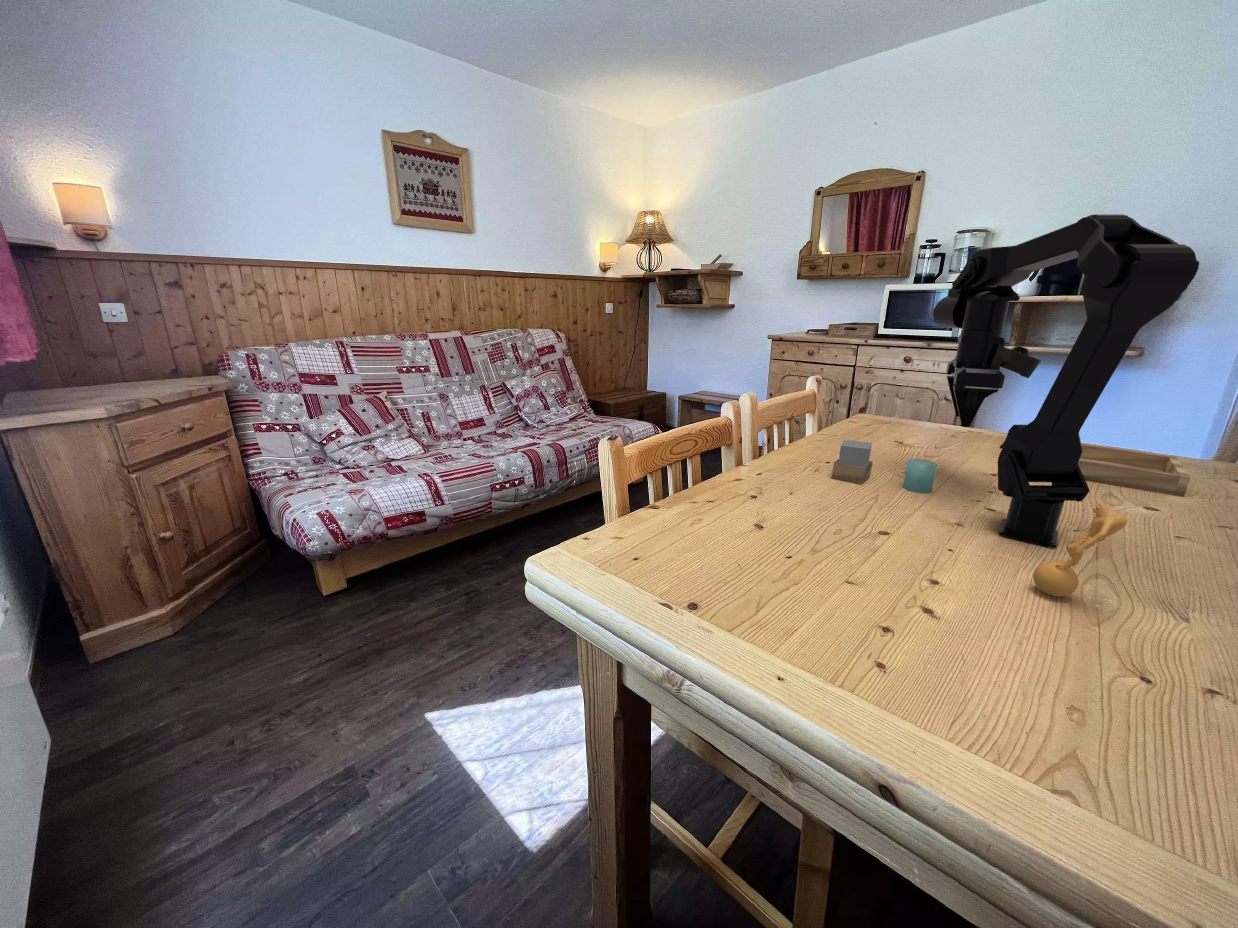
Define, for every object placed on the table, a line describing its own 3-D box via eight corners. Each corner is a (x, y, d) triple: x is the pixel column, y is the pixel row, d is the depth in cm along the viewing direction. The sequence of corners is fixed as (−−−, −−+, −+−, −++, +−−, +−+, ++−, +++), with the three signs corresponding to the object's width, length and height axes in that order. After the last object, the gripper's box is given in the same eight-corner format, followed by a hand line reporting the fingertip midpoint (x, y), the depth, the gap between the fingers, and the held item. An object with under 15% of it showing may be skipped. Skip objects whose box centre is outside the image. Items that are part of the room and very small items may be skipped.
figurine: (1038, 574, 63) (1065, 485, 59) (1102, 595, 58) (1136, 500, 55) (1020, 599, 58) (1048, 502, 54) (1089, 623, 53) (1125, 520, 49)
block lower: (861, 486, 93) (864, 468, 92) (831, 479, 97) (833, 462, 96) (869, 478, 97) (872, 461, 96) (840, 472, 101) (843, 455, 100)
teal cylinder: (928, 495, 88) (934, 468, 87) (900, 489, 91) (905, 463, 90) (933, 488, 92) (939, 462, 90) (905, 482, 95) (910, 457, 93)
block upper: (867, 467, 93) (870, 449, 92) (838, 463, 95) (840, 445, 94) (869, 460, 97) (871, 442, 96) (841, 456, 99) (843, 439, 98)
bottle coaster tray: (1183, 496, 88) (1190, 477, 87) (1064, 476, 98) (1069, 459, 96) (1170, 474, 99) (1176, 456, 98) (1064, 458, 109) (1069, 442, 108)
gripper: (1058, 334, 72) (1031, 438, 77) (1029, 329, 88) (1008, 416, 92) (966, 332, 77) (946, 430, 82) (954, 327, 93) (938, 410, 97)
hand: (962, 421), depth 88 cm, fingers open, 9 cm apart
